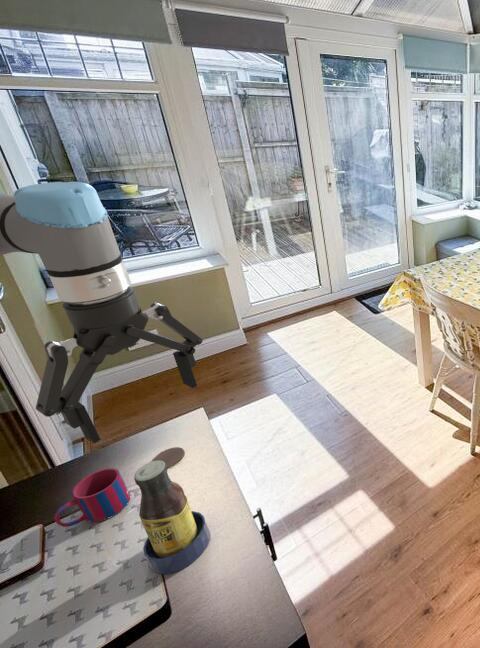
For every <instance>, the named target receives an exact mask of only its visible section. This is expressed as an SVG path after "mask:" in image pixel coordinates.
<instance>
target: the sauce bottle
mask: <svg viewBox="0 0 480 648" xmlns="http://www.w3.org/2000/svg"><path fill="white" fill-rule="evenodd" d="M133 480H134V482H135V485H136V486H138V488H139V490H140V495H141V498H140V504H139V505H140V507H139V513H138V516H139V519H140V521H141V524H142V526H143V528H144V530H145V533H146V535H147V538H149V540H150V542H151V544H152V547H153V549H154V551H155V554H156V555H157V556H158V557H159V558H166V557H169V556H172V555H175V554H176V553H178V552H180V551H182V550H184V549H185V548H186V547H187V546H189V545H190V544H191V543H192V542H193V541H194V540H195V539H196V538H197V537H198V535H199V533H198V529H197V526H196V523H195V520H194V518H193V515H192V512H191V511H192V510H191V506H190V503H189V501H188V498H187V495H186V494H185V491H184V489H183V487H182V486H181V485H180V484H179V483H177V482H175V481H173V480H171V478H170V476H169V474H168V468H167V466H166V464H165V463H164V462H163V461H158V460H157V461H152V460H151V461H149V462H147V463H145V464H143V465H142V466H140V467H139V468H138V469H137V470H136V471H135V473H134V476H133Z"/></svg>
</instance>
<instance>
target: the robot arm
mask: <svg viewBox="0 0 480 648" xmlns="http://www.w3.org/2000/svg"><path fill="white" fill-rule="evenodd" d="M108 215H109V214H108V211H107V210H106V208H105V207H104V205H103V204H102V201H101V199H100V197H99V195H98V192H97V189H95V188H94V187H93V186H92V185H91V184H89V183H85V182H81V181H53V182H52V181H51V182H44V183H36V184H30V185H25V186H21V187H20V188H18V189H16V190H15V191H14V192H13V194H5V193H3V192H0V256H4V255H8V254H11V253H25V254H26V253H27V254H37V255H38V256H39V258H40V261H41V262H42V264H43V266H44V268H45V271H46V273H47V274H48V278H49V279H50V282H51V284H52V286H53V288H54V291H55V293H56V295H57V297H58V299H59V300H60V301H61V302H63V303H62V308H63V311H64V313H65V315H66V318H67V319H68V321H69V324H70V326H71V328H72V330H73V335H72V338H71V337H70V338H68V339H64V340H61V341H54V340H49V341H47V342H46V343H45V344H44V350H45V353H46V357H47V358H46V359H47V360H46V363H45V364H46V365H45V367H44V370H43V371H44V372H43V376H42V380H41V384H40V388H39V392H38V395H37V399H36V400H37V401H36V404H35V410H36V411H38V412H39V413H41V415H43V416H44V417H46V418H49V417H52V416H54V415H55V414H59V413H60V414H61V416H62V417H63V419H64V421H65V423H66V425H68V426H69V427H71V428H73V429H74V430H76V429H78V428H80V431H81V432H82V434H83V436H84V437H85V438H86V439H88V440H89V441H90V442H92V443H93V444H95V443H98V442H99V441H101V438H100V435H99V433H98V431H97V428H96V427H95V425H94V423H93V421H92V418H91V416H90V415H89V413H88V410H87V408H86V406H85V405H84V404H83V403H81V402H80V400H81V398H82V396H83V394H84V393H85V390H86V389H87V387H88V385H89V383H90V382H91V380H92V377H93V375H94V374H95V372H96V370H97V369H98V367H99V365H102V363H103V362H104V360H105V358H106V357H107V356H108V355H110V356H113V355H116V354H118V353H119V352H122V350H125V349H128V348H132V347H134V346H137V343H138V342H139V341H140V340H143V341H145V342H146V341H147V342H149V343H154V344H156V345H160V346H163V347H166V348H169V349H172V350H175V351H174V352H172V355H173V358H174V360H175V363H176V367H177V370H178V372H179V374H180V378H181V381H182V384H184V385H185V386H187V387H189V388H191V389H194V388H196V387H198V384H197V380H196V377H195V374H194V371H193V368H195V367H196V365H197V361H196V359H195V356H194V355H195V353H196V348H195V347H197V346H199V345H201V344H202V343H203V338H202V337H200V336H199V335H198V334H196V333H195V332H194V331H192V330H191V329H190V328H188V327H187V326H186V325H184V324H183V323H182V322H180V321H179V320H178V319H177V318H175V317H174V316H173V315H172V314H171V311H170V310H169V308H168V306H166V305H164V304H162V303H159V302H153V303H151V305H150V307H149V308H147V309H145V310H142V307H141V304H140V302H139V299H138V297H137V294H136V291H135V289H134V288H133V287H132V286H131V285H132V281H131V278H130V276H129V273H128V270H127V268H126V264H125V262H124V259H123V257H122V254H121V251H120V248H119V245H118V242H117V240H116V237H115V234H114V231H113V229H112V226H111V223H110V220H109V216H108ZM149 319H152V320H155V321H160V322H161V323H163V324H164V325H165V326H167V327H168V328H169V329H171V330H172V331H174V332H175V333H176V334H178V335H179V336H180V337H181V338H183V339H184V340H183V342H181V341H178V340H176V339H172V338H169V337H167V336H165V335H161V334H158V333H156V332H152V331H149V330H147V329H146V327H147V324H148V322H149ZM77 347H80V348H82V350H81V352H80V353H79V357H78V358H79V359H78V361H77V363H76V365H75V366H74V368H73V370H72V372H71V373H70V375H69V378H67V381H66V383H65V379H66V375H67V370H68V365H69V357H71V356H73V353H74V352H73V351H74V349H75V348H77ZM64 383H65V385H64Z"/></svg>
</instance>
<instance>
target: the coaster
mask: <svg viewBox="0 0 480 648" xmlns="http://www.w3.org/2000/svg"><path fill="white" fill-rule="evenodd" d="M185 455H186V454H185V450H184V448H182V447H179V446H178V447H177V446H176V447H170V448H167V449H165V450H163V451H161V452H159V453H158V454H156V455H155V456H154V457H153V458H152V460H151V462H152V461H157V460H158V461H163V462H164V463H165V464H166V466H167V469H170V468H172V467H174V466H175V465H177V464H179V462H180V461H181V460H182V459H183V458H184V457H185Z"/></svg>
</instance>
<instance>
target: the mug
mask: <svg viewBox="0 0 480 648" xmlns="http://www.w3.org/2000/svg"><path fill="white" fill-rule="evenodd" d="M71 492H72V493H71V495H72V497H73V500H70V501H68V502H66V503H64V504H63V505H62V506H60V507H59V508H58V509H57V510H56V511H55V513H54V517H53V519H54V521H55V523H56V524H57V525H58V526H60V527H64V528H69V527H72V526H76V525H78V524H80V523H82V522H84V521H87V522H89V521H91V522H90V523H99V522H98V521H100V522H102V521H101V520H104V519H106V520H108V519H107V518H108V517H111V516H113V515H114V516H116V515H118V514H119V513H120V512H122V511H123V510H124V509H125V508H126V507H127V506H128V504H129V503H130V501H131V498H130V496H131V493H130V492H129V489H128V487H127V485H126V483H125V481H124V479H123V477H122V474H121V472H120V471H119V470H118V468H114V467H108V468H102V469H99V470H97V471H94V472H93V473H90V474H88V475H87V476H84V478H82V479H81V480H79V482H78V483H77V484H76V485H75V486H74V487H73V489H72V491H71ZM129 500H130V501H129ZM128 502H129V503H128ZM127 503H128V504H127ZM75 505H76V506H78V508H79V510H80V512H81V514H82V515H81V516H80V517H78V518H77V519H74V520H71V521H68V522H62V521H61V519H60V517H61V514H62V513H63V512H64V510H66V509H67V508H70V507H72V506H75ZM125 506H126V507H125ZM124 507H125V508H124ZM123 508H124V509H123ZM122 509H123V510H122ZM118 512H119V513H118ZM117 513H118V514H117ZM115 514H116V515H115ZM114 516H113V517H114ZM111 518H112V517H111ZM104 521H105V520H104Z"/></svg>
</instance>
